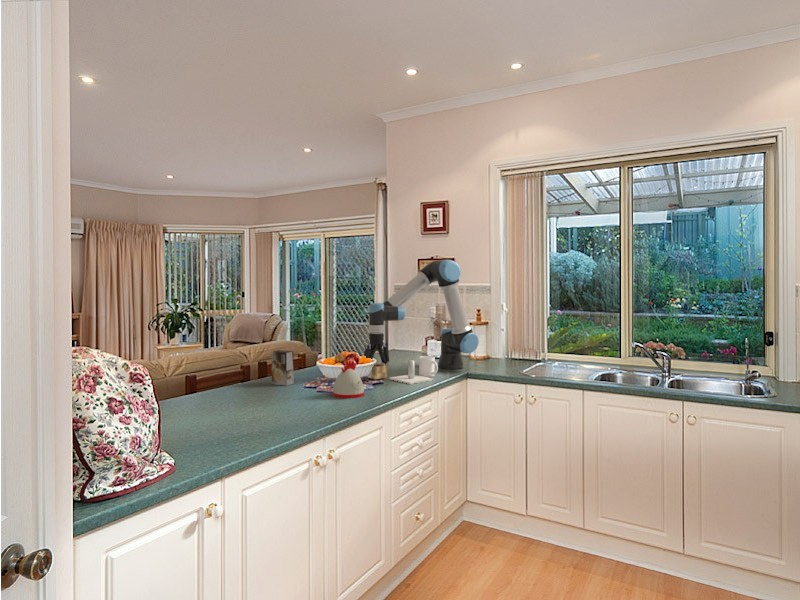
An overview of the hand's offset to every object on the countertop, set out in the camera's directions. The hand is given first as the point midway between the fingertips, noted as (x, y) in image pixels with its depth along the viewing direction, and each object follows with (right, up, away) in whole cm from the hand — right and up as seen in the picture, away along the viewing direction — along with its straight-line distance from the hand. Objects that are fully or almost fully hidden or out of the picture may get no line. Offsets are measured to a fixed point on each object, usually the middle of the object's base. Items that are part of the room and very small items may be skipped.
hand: (376, 376), depth 270 cm
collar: (0, 0, 0) cm, 0 cm away
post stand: (+18, -1, -2) cm, 18 cm away
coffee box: (-45, -1, -16) cm, 48 cm away
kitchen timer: (-11, -3, -38) cm, 39 cm away
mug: (+28, -1, +8) cm, 29 cm away
